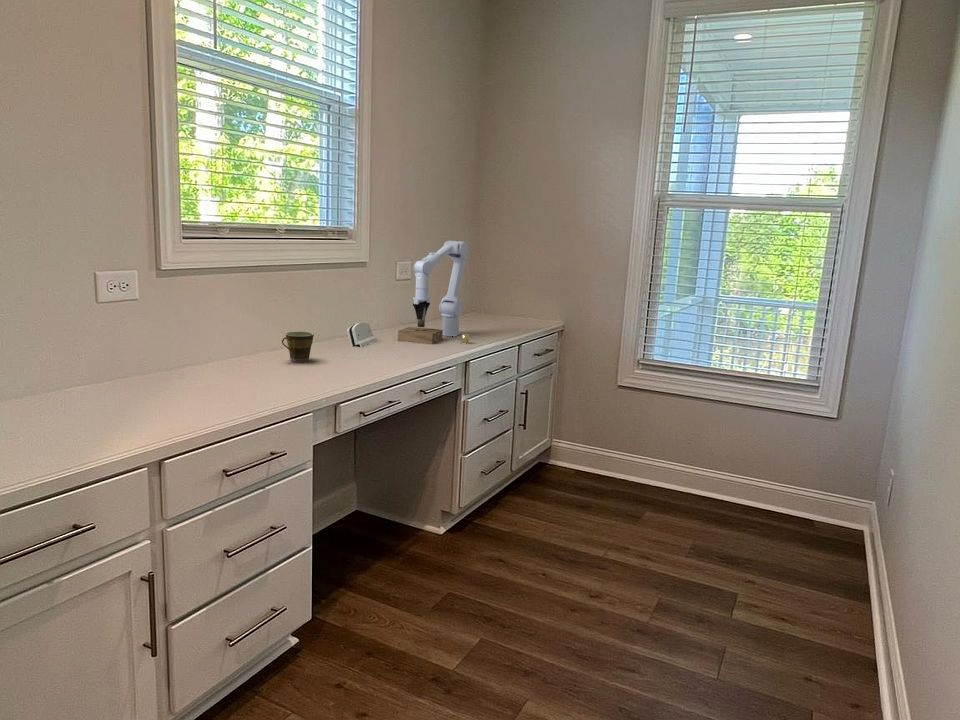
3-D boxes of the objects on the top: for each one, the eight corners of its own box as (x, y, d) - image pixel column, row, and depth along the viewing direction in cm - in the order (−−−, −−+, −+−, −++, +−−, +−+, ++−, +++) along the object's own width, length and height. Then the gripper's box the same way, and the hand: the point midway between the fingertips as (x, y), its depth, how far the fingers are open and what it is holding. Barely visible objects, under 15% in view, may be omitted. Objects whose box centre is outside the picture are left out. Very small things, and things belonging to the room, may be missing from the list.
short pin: (462, 342, 309) (463, 333, 308) (469, 343, 308) (469, 334, 307) (460, 343, 306) (460, 334, 305) (467, 344, 305) (467, 335, 304)
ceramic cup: (301, 356, 262) (301, 330, 260) (319, 360, 257) (319, 334, 255) (273, 361, 252) (273, 334, 250) (291, 365, 246) (291, 338, 244)
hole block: (409, 336, 318) (409, 326, 317) (442, 339, 314) (442, 329, 313) (397, 340, 305) (398, 330, 304) (431, 344, 301) (432, 334, 300)
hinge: (361, 347, 286) (353, 324, 285) (351, 350, 288) (344, 327, 287) (377, 341, 302) (371, 319, 301) (368, 343, 303) (361, 322, 302)
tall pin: (418, 325, 310) (419, 305, 308) (425, 326, 309) (426, 306, 308) (416, 326, 307) (417, 306, 305) (423, 327, 306) (424, 307, 304)
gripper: (419, 286, 313) (418, 316, 315) (407, 288, 299) (406, 320, 302) (434, 287, 311) (433, 317, 314) (422, 290, 297) (421, 321, 300)
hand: (421, 318), depth 308 cm, fingers closed on tall pin, 3 cm apart
